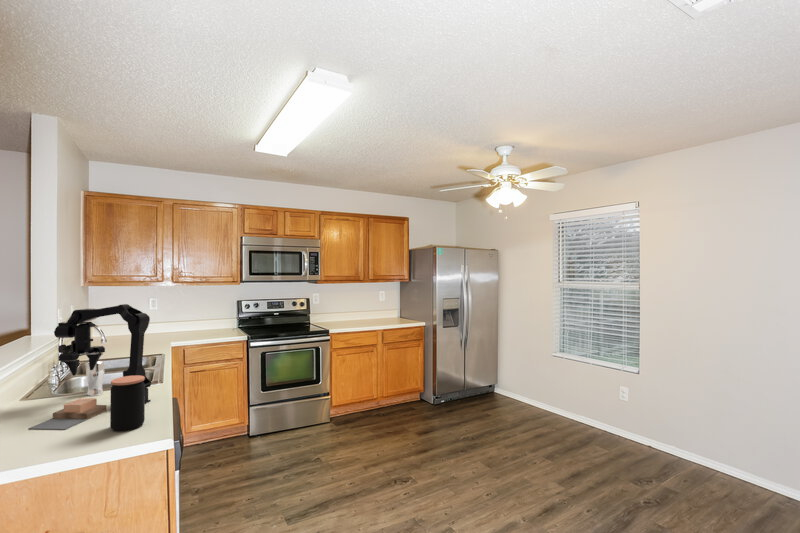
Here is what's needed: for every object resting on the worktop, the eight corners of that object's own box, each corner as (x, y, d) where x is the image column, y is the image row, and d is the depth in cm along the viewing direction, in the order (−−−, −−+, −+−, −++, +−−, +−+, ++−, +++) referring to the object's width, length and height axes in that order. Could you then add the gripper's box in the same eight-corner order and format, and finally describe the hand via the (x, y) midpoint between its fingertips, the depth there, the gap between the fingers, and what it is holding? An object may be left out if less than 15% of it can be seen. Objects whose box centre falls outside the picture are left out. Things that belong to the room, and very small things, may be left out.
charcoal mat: (86, 419, 159) (86, 418, 159) (64, 429, 149) (64, 428, 149) (52, 419, 159) (52, 418, 159) (28, 429, 149) (28, 428, 149)
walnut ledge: (106, 411, 169) (106, 405, 169) (86, 419, 159) (86, 413, 159) (74, 410, 169) (74, 404, 169) (52, 419, 159) (52, 413, 159)
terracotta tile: (96, 405, 168) (96, 398, 168) (80, 412, 160) (80, 404, 160) (80, 405, 168) (80, 398, 168) (63, 412, 160) (63, 404, 160)
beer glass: (94, 396, 188) (94, 364, 188) (82, 395, 189) (82, 363, 189) (108, 392, 194) (108, 361, 195) (96, 391, 196) (96, 360, 196)
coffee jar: (151, 423, 155) (151, 376, 155) (124, 434, 145) (124, 384, 145) (131, 420, 159) (131, 374, 159) (103, 430, 149) (103, 381, 149)
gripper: (82, 334, 188) (83, 367, 188) (45, 341, 170) (46, 378, 170) (105, 334, 188) (106, 367, 188) (71, 341, 169) (71, 378, 169)
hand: (83, 372), depth 179 cm, fingers open, 9 cm apart
